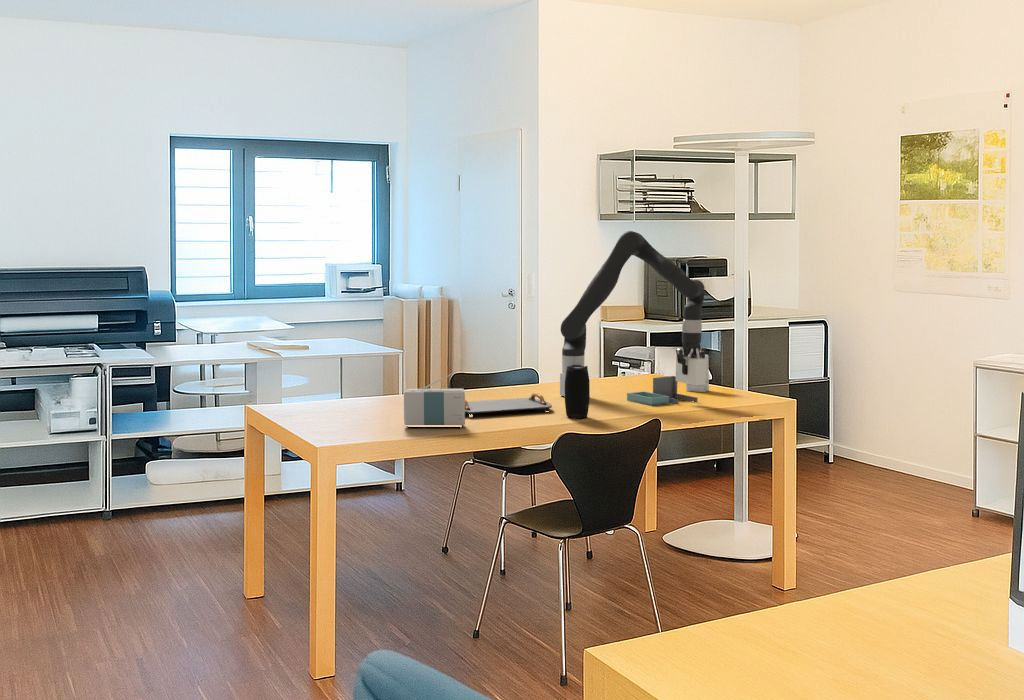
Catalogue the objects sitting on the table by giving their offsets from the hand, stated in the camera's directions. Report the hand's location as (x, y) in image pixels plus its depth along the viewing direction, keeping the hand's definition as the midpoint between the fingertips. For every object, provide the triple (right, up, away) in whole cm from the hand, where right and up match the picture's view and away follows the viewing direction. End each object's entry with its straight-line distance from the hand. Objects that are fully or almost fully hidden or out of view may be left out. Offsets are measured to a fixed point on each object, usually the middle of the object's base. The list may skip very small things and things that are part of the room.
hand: (690, 373), depth 406 cm
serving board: (-75, -14, -13) cm, 77 cm away
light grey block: (0, -4, 0) cm, 3 cm away
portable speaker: (-46, -16, -28) cm, 56 cm away
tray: (-16, -12, +7) cm, 21 cm away
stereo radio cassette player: (-97, -18, -46) cm, 109 cm away
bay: (-4, -11, +9) cm, 15 cm away
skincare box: (+9, -8, +37) cm, 39 cm away
